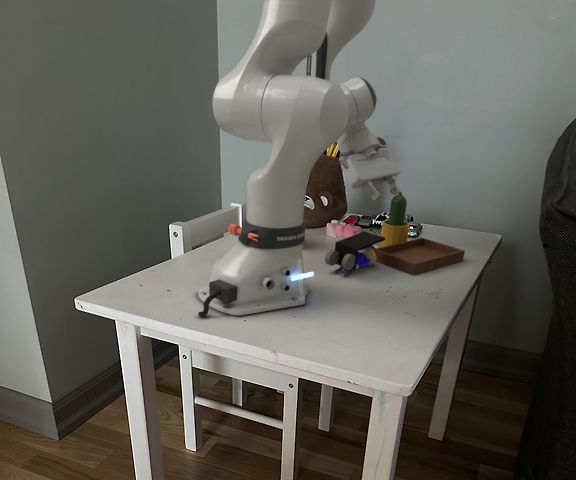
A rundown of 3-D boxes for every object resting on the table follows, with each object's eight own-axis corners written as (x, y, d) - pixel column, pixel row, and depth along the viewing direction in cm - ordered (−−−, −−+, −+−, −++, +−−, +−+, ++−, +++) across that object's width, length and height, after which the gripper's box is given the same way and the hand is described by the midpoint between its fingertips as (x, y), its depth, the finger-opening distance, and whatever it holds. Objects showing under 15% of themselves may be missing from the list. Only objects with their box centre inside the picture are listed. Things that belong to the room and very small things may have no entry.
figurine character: (347, 286, 121) (384, 264, 130) (348, 254, 116) (386, 233, 126) (323, 279, 125) (360, 258, 134) (323, 247, 120) (362, 227, 129)
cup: (394, 251, 141) (397, 227, 138) (373, 244, 145) (376, 221, 142) (411, 247, 145) (415, 224, 142) (391, 240, 149) (394, 218, 146)
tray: (413, 275, 126) (415, 264, 124) (371, 259, 134) (372, 249, 133) (462, 260, 136) (465, 250, 135) (420, 247, 145) (422, 237, 144)
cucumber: (393, 246, 142) (401, 194, 136) (382, 242, 145) (389, 191, 138) (403, 244, 144) (411, 192, 138) (392, 240, 147) (399, 189, 140)
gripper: (344, 144, 132) (374, 193, 131) (389, 139, 145) (415, 183, 145) (328, 161, 136) (356, 209, 136) (372, 154, 150) (398, 197, 150)
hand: (387, 196), depth 141 cm, fingers open, 8 cm apart
